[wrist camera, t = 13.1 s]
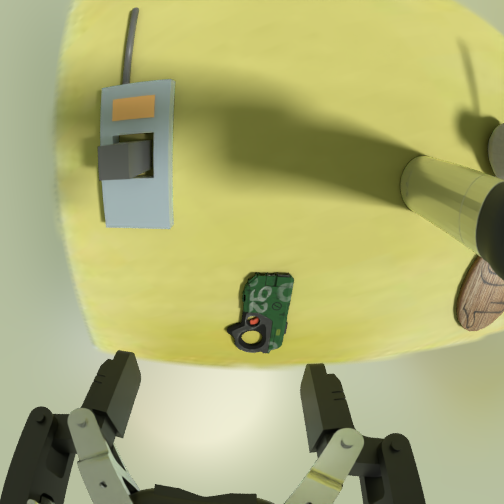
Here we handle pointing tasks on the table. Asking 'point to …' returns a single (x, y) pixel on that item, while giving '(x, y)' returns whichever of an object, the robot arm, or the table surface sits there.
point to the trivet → (480, 297)
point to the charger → (124, 159)
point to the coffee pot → (497, 151)
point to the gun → (264, 312)
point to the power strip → (132, 122)
